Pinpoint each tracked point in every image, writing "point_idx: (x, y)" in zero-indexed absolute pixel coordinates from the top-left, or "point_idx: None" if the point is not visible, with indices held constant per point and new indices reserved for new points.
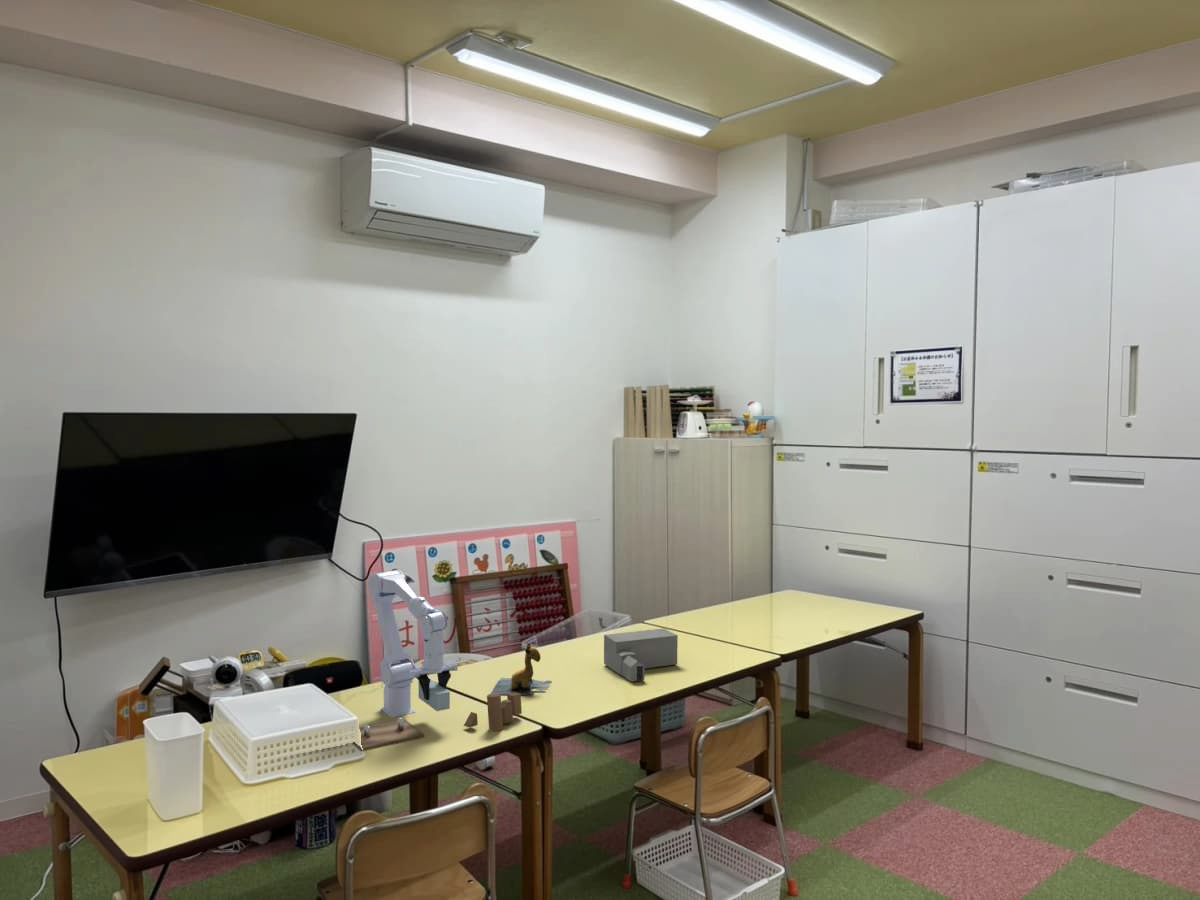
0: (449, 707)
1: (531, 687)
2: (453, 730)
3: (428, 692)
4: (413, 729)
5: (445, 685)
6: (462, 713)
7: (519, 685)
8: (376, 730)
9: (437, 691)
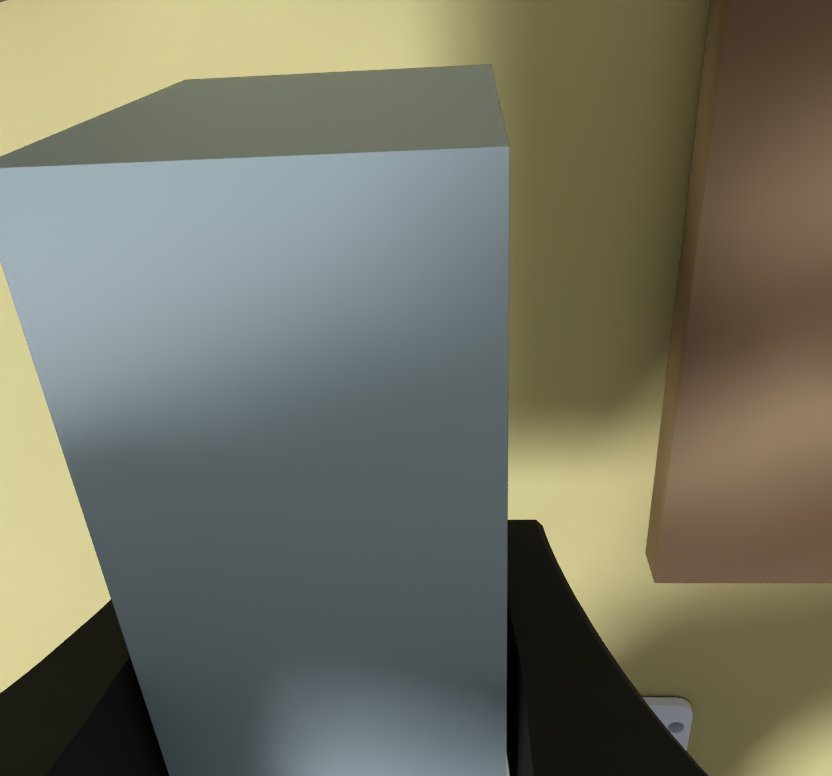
0: (181, 82)
1: None
2: (233, 46)
3: (529, 619)
4: (750, 232)
5: (31, 688)
6: (24, 498)
7: None
8: None
9: (371, 426)
